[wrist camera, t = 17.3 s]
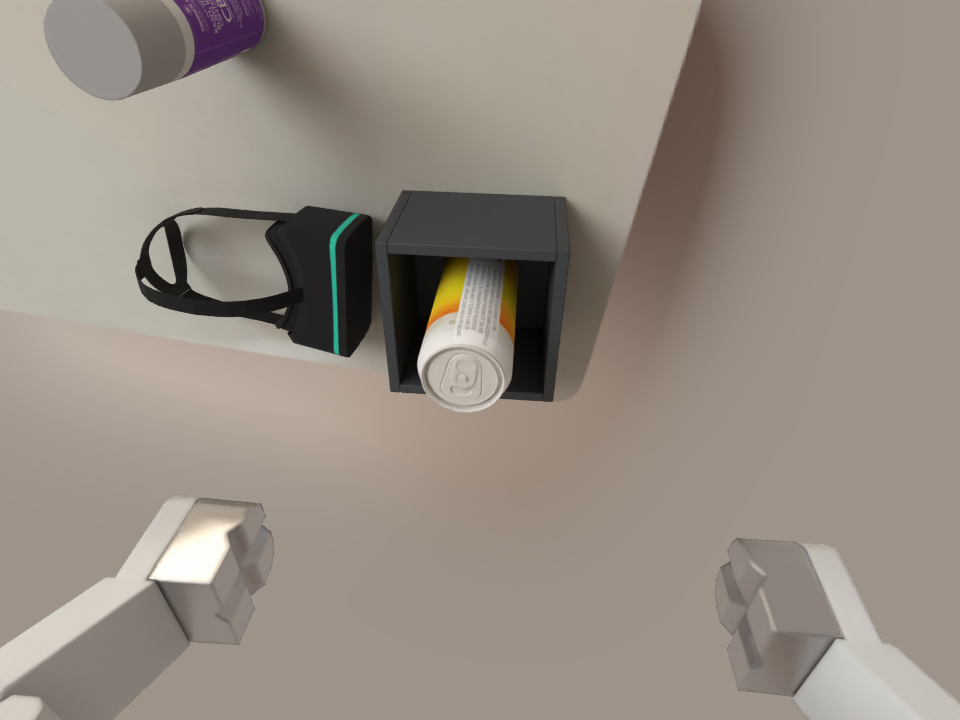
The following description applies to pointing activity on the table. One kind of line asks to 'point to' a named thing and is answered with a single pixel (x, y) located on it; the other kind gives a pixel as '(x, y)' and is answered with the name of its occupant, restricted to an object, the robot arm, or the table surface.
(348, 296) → the virtual reality headset
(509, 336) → the beer can
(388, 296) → the trash bin
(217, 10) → the container
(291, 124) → the table surface
